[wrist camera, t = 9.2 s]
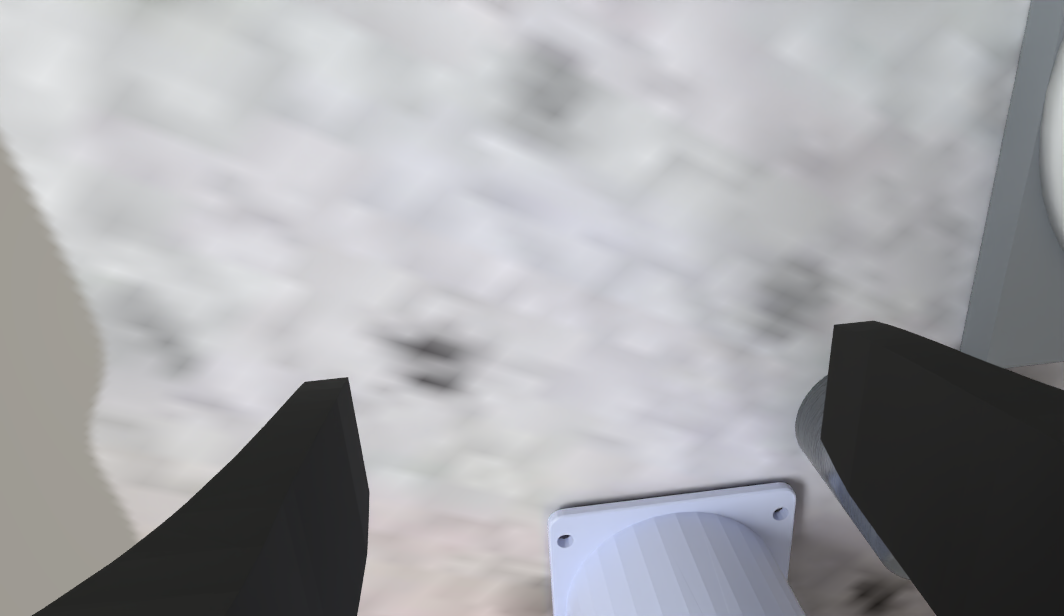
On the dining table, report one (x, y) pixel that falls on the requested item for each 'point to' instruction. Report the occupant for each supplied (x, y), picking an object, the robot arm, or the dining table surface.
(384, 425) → the dining table surface
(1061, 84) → the scale
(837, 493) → the cylinder
